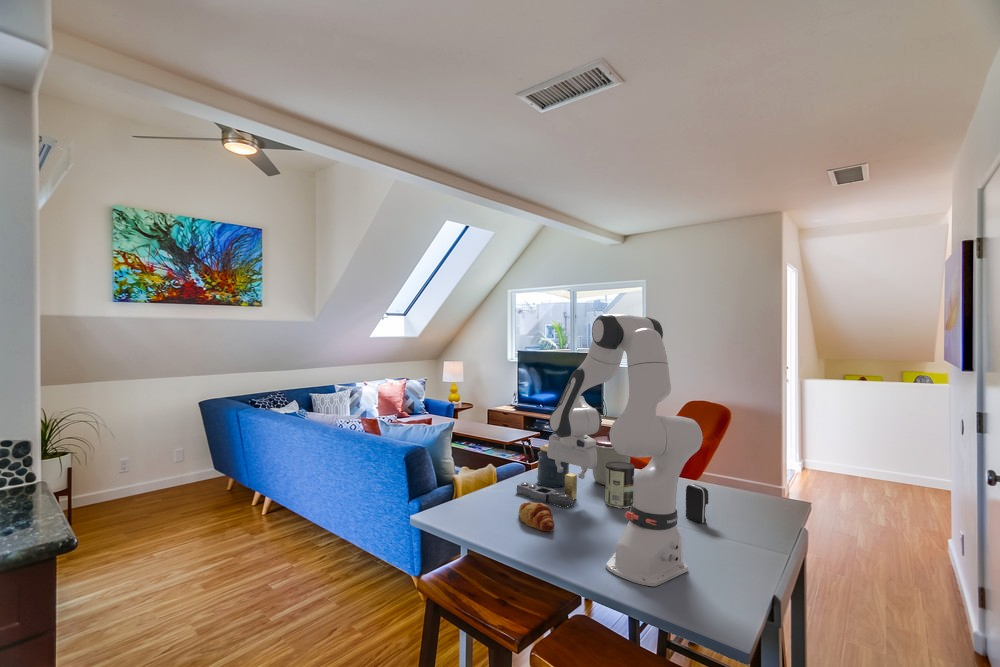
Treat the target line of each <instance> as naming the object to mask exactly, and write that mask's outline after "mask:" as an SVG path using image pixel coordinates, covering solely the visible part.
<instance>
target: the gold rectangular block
mask: <svg viewBox="0 0 1000 667" xmlns="http://www.w3.org/2000/svg"><path fill="white" fill-rule="evenodd" d="M577 485H578V475H577V474H576V473H575V474H574V473H571V472H569V473H568V474H566V475H565V486H564V493H563V494H567V495H570V496H573V499H576V500H577V495H578V494H577V492H578V491H577V490H578V486H577Z"/></svg>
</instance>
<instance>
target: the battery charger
mask: <svg viewBox="0 0 1000 667" xmlns="http://www.w3.org/2000/svg"><path fill="white" fill-rule="evenodd" d="M707 505H709V491H708V489H707V488H706V487H704V486H702V485H698V484H697V483H696V484H695V483H692V484H688V485H686V488H685V517H686V518H687V519H690V520H692V521H694V522H695V523H698V524H704V523H706V522H707V518H706V506H707Z"/></svg>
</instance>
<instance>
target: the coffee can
mask: <svg viewBox="0 0 1000 667" xmlns="http://www.w3.org/2000/svg"><path fill="white" fill-rule="evenodd" d="M635 470H636V467H635V465H634V464H633V463H631V462H630V463H626V462H619V461H613V462H607V463H606V485H604V486H605V490H604V491H605V492H604V493H605V494H604V495H605V496H604V497H605V498H604V503H605V505H607V504H608V505H610V506H609V507H611V506H614V507H619V508H618V509H622V508H624V509H630V508H629V507H631V506H632V504H633V491H634V478H635ZM608 505H607V506H608ZM614 507H613V508H614Z"/></svg>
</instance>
